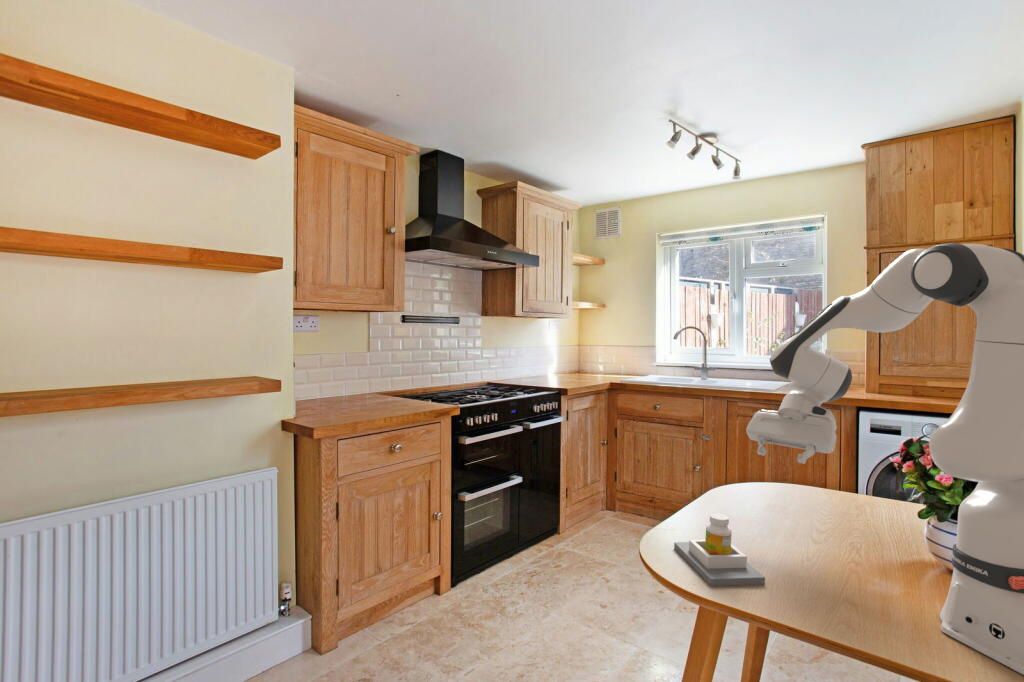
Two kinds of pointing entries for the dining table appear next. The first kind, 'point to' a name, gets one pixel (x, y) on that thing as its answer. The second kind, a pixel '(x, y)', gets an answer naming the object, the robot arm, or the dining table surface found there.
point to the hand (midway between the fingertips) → (780, 457)
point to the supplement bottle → (718, 535)
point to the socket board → (719, 565)
